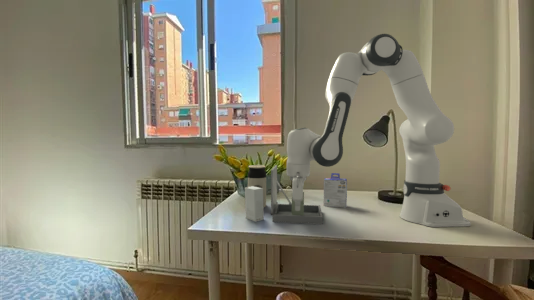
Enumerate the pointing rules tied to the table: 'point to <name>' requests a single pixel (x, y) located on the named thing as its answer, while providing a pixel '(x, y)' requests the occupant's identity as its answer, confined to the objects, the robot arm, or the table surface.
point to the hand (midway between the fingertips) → (297, 206)
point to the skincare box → (254, 203)
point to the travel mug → (258, 179)
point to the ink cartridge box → (335, 191)
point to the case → (285, 210)
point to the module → (300, 208)
